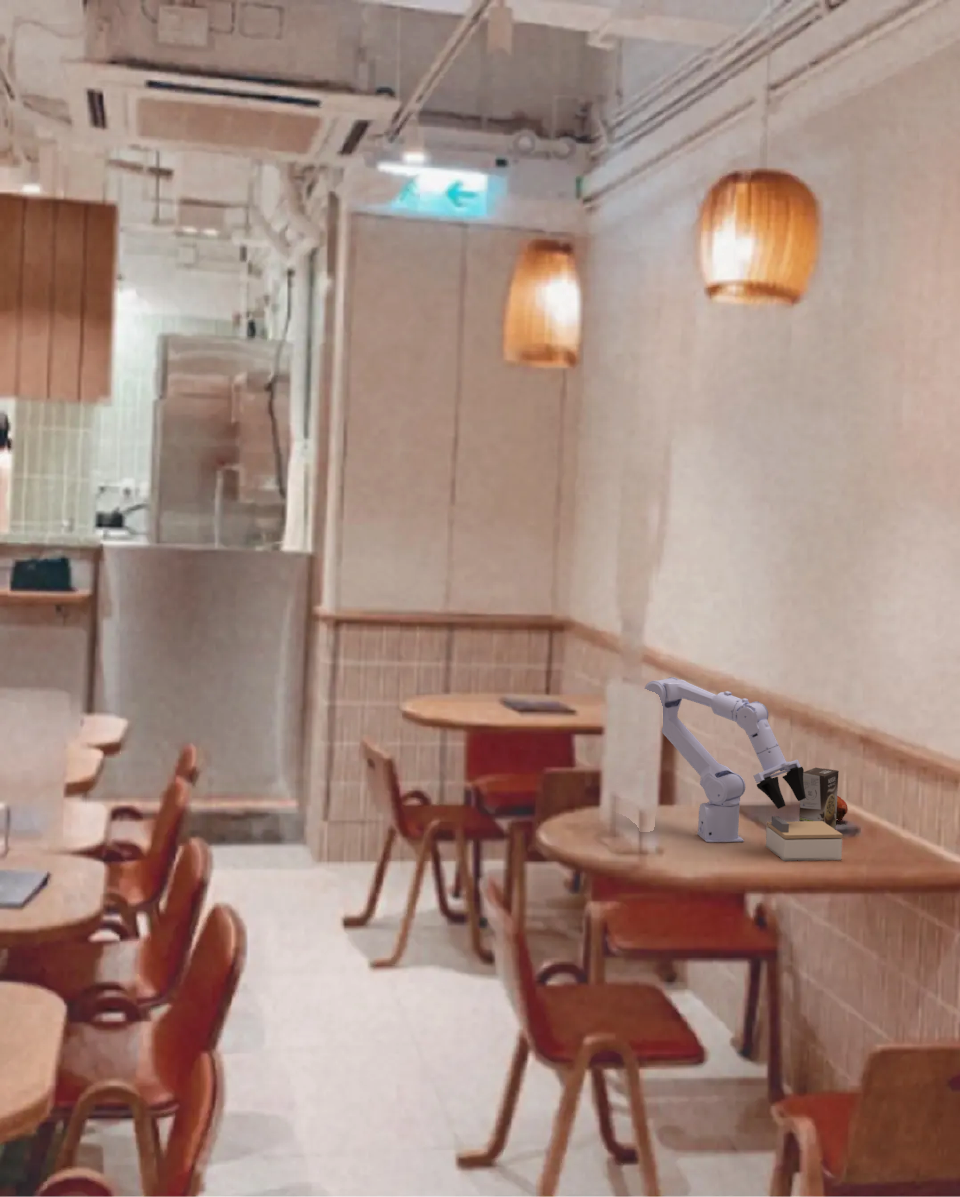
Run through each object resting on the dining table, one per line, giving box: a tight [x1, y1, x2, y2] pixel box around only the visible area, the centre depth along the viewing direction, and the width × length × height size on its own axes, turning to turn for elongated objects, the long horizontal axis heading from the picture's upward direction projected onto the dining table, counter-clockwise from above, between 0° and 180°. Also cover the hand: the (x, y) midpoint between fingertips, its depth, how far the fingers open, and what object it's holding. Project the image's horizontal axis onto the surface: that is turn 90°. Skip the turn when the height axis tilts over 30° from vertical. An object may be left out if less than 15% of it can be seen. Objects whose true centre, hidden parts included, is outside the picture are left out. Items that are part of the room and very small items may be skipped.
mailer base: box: [765, 825, 843, 862], centre depth 324 cm, size 14×12×5 cm
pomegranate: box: [836, 795, 849, 821], centre depth 355 cm, size 7×7×10 cm
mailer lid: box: [766, 815, 844, 839], centre depth 324 cm, size 14×12×3 cm
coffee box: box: [798, 767, 839, 830], centre depth 341 cm, size 9×6×16 cm
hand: (792, 803), depth 323 cm, fingers open, 7 cm apart
